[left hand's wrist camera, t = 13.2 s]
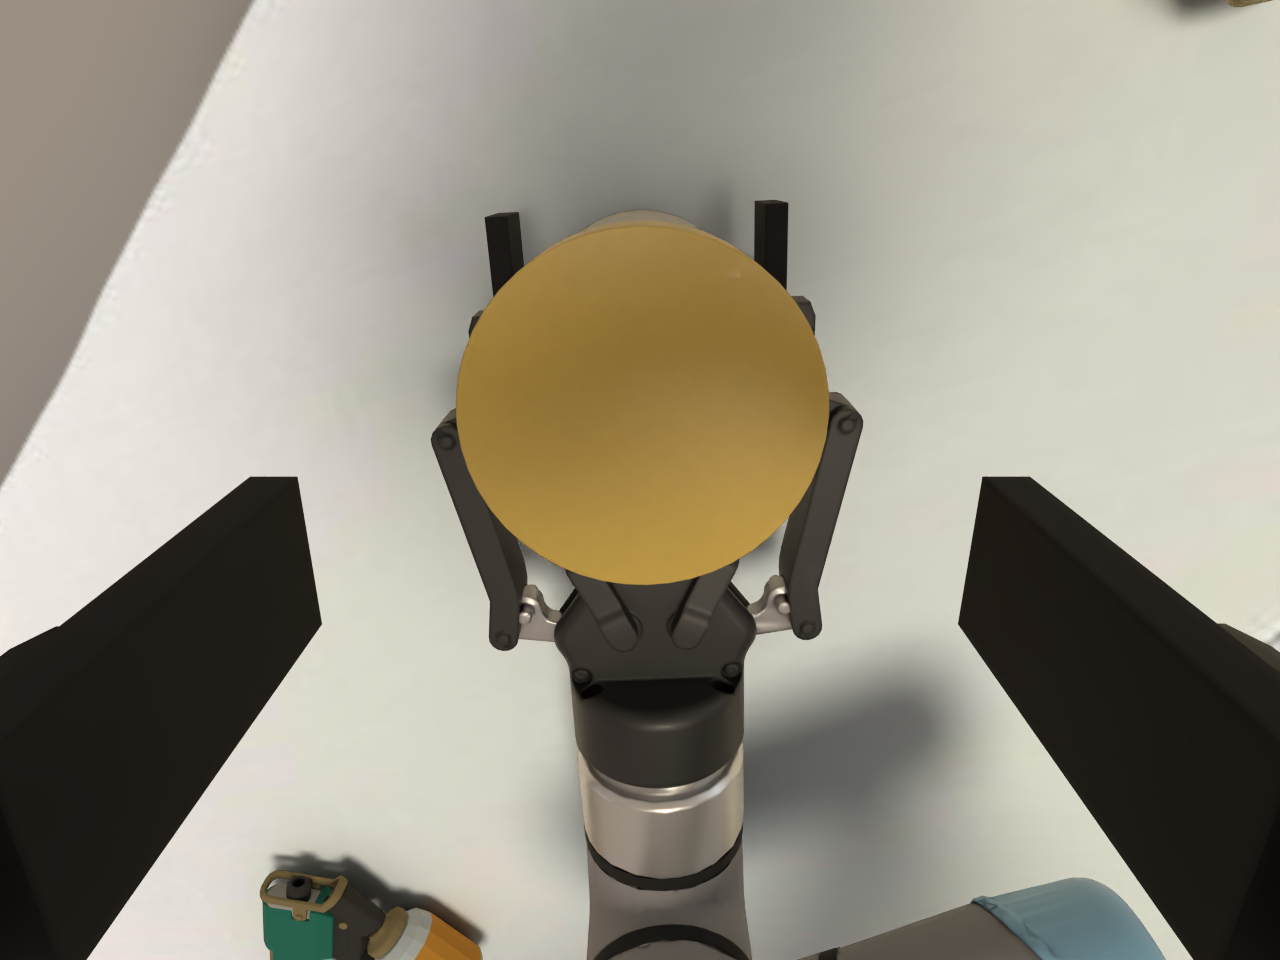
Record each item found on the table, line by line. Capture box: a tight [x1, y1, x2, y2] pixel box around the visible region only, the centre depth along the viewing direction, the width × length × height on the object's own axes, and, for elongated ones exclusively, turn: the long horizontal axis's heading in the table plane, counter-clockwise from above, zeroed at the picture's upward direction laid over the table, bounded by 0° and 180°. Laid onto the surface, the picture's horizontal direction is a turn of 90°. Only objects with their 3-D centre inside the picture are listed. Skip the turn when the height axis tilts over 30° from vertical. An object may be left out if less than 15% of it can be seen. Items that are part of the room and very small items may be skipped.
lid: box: [456, 220, 829, 585], centre depth 21 cm, size 9×9×2 cm
